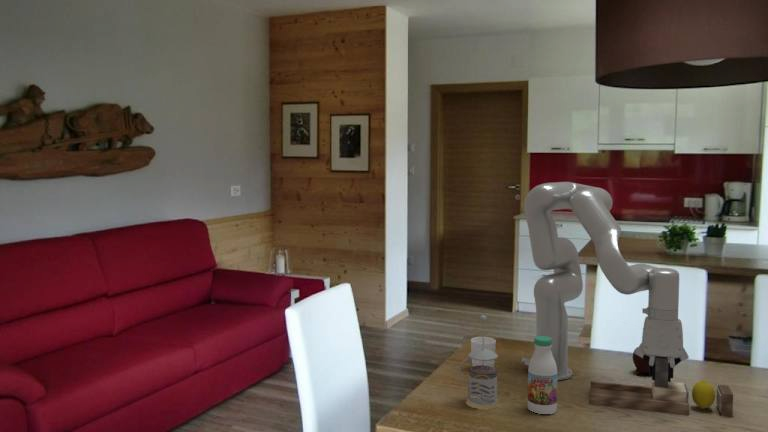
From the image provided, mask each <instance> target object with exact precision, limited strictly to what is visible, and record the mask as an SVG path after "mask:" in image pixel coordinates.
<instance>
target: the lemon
mask: <svg viewBox="0 0 768 432" xmlns="http://www.w3.org/2000/svg"><path fill="white" fill-rule="evenodd" d="M691 396H692V400H693V402H694V403H695V405H696V406H698V407H700V409H701V410H705V409H706V408H710V407H712V405H713V404H714V403H715V400H716V391H715V388H714V387H713V385H712V384H711V383H709V382H708V381H706V380H705V379H703V380H701V381H697V382H696V383H695V384H694V385H693V387H692V391H691Z"/></svg>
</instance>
